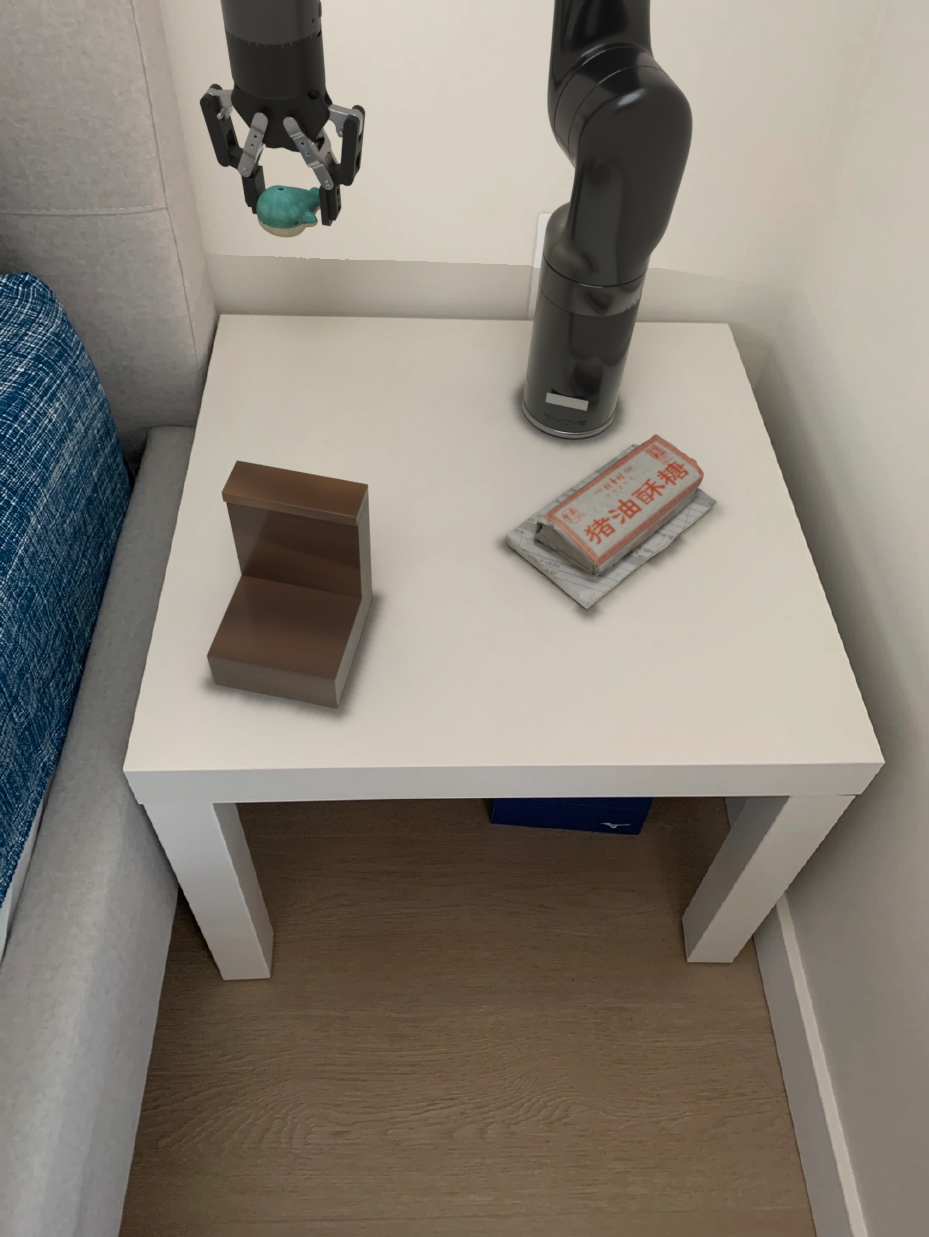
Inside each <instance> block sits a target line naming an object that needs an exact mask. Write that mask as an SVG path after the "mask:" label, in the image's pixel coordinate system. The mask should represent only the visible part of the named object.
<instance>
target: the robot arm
mask: <svg viewBox="0 0 929 1237" xmlns="http://www.w3.org/2000/svg"><path fill="white" fill-rule="evenodd" d="M219 1H220V7H221V14H222V21H223V25H224V26H223V28H224V34H225V40H226V47H227V54H228V62H229V66H230V74H231V78H232V80H233V88H232V89H223V87H222V86H221V85H220V84H218V83H212V84H211V85H210V86H209V87H208V89H207V90H206V91H205V93H204V94H203V95H202V97H201V98H200V99H199V107H200V109H201V112H202V115H203V119H204V122H205V125H206V128H207V133H208V135H209V138H210V142H211V145H212V147H213V152H214V155H215V158H216V160H217V163H218V164H219V165H220V166H221V167H223V168H229V167H231V168H233V169H235V170H236V171H237V172H238V173H239V175H240V177H241V184H242V190H243V197H244V202H245V204H246V206H247V207H248V208H251V213H252V215H257V202H258V199H259V197H260V195H261V194H262V193H263V192H264V191H265V190H266V189H267V188H266V181H265V174H264V167H263V166H264V165H261V164H259V162H260V161H261V157H262V155H263V152H264V149H265V148H267V149H272V150H276V149H285V150H287V151H289V152H293V153H299V154H300V155H301V157H302V159H303V161H304V162H305V165H306V167H308V168H310V169H312V171H313V173H314V176H315V177H316V179H317V180H318V182H319V184H320V186H319V187H318V188H319V199H320V209H319V210H320V217H321V218H320V219H321V225H322V226H324V227H325V226H326V227H331V226H332V224H333V222H336V220H337V219H338V217H339V215H340V213H341V211H342V198H341V197H342V196H341V194H342V193H341V186H342V185H343V186H344V187H350V186H352V185H353V183H354V181H355V178H356V176H357V174H358V173H359V171H360V169H361V167H362V166H361V164H362V154H363V144H364V143H363V142H364V134H365V133H364V131H365V121H366V110H365V108H364V107H363V106H362V105H360V104H355V105H353V106H351V108H348V107H346V106H341V105H337V104H334V102H333V99H332V98H331V96H330V94H329V93H328V90H327V86H326V84H327V83H326V66H325V65H326V64H325V52H324V50H325V49H324V39H323V38H324V37H323V26H322V16H323V7H322V1H321V0H219ZM552 15H553V16H552V27H551V28H552V29H551V40H550V41H551V42H550V53H549V62H548V63H549V64H548V75H547V76H548V77H547V91H546V92H547V93H546V94H547V95H546V108H547V117H548V123H549V126H550V129H551V132H552V137H553V138H554V140H555V141H556V143H557V145H558V147H559V148H560V150H561V151H562V152H563V154H564V155H565V157H566V158H567V160H568V161H569V163H570V164H571V166H572V167H573V168H574V173H573V174H574V175H573V183H572V189H571V194H570V199H569V201H567V202H566V203H563V204H561V205H560V206H558V207H557V208H556V209H555V210H554V211H553V212H552V213H551V214H550V216H549V217H548V220H547V222H546V226H545V229H544V237H543V245H542V252H541V260H540V269H539V276H538V284H537V292H536V299H535V300H536V301H535V306H534V307H535V308H534V314H533V321H532V329H531V337H530V344H529V353H528V358H527V366H526V367H527V368H526V374H525V381H524V388H523V391H522V396H521V408H522V411H523V413H524V415H525V417H526V419H527V420H528V421H529V422H530V423H531V424H532V425H533V426H534V427H536V428H537V429H539V430H540V431H542V432H544V433H547V434H548V435H552V436H555V437H558V438H564V439H585V438H589V437H592V436H593V437H594V436H595V435H597V434H600V433H602V432H603V431H604V430H606V429H607V428H608V427H609V426H610V425H611V424H612V423H613V420H614V418H615V414H616V410H617V402H618V397H619V393H620V389H621V385H622V380H623V378H624V372H625V369H626V365H627V360H628V356H629V351H630V348H631V342H632V340H633V339H632V338H633V334H634V330H635V325H636V321H637V318H638V312H639V308H640V304H641V300H642V296H643V290H644V286H645V282H646V277H647V274H648V268H649V265H650V261H651V258H652V253H653V252H654V251H655V249H656V248H657V247H658V246H659V244H660V243H661V241H662V240H663V238H664V236H665V233H666V231H667V229H668V226H669V224H670V221H671V218H672V214H673V210H674V207H675V204H676V200H677V197H678V194H679V190H680V187H681V184H682V180H683V177H684V174H685V170H686V166H687V164H688V163H687V162H688V159H689V156H690V150H691V146H692V139H693V129H694V125H693V124H694V122H693V121H694V118H693V112H692V108H691V105H690V102H689V100H688V98H687V97H686V95H685V93H684V92H683V90H681V89H682V88H680V87H679V86H678V85H677V83H676V82H675V81H674V79H672V77H671V76H670V75H669V74H668V73H667V72H666V70H664V68H662V66H661V65H660V64H659V62H658V61H657V60H656V59H655V56H654V52H653V47H652V37H651V36H652V34H651V0H554V1H553V14H552ZM234 110H235V111H236V113H237V114H238V116H239V117H240V118H241V119H242V121H243V122H244V124H246V126H247V127H248V128H249V131H248V134H247V137H246V139H245V142H244V145H243V147H241V146H240V144H239V140H238V137H237V134H236V130H235V126H234V124H233V119H232V116H231V115H232V113H233V111H234ZM329 121H330V122H331V123H333V124H334V127H335V132H336V134H337V136H338V137H339V138H340V139H341V153H340V163H339V161H338V160H337V157H336V155H335V154H334V152H333V149H332V142H331V140H330V138H329V135H328V133H327V132H326V130H325V128H324V127H325V126H326V125H327V123H328V122H329Z"/></svg>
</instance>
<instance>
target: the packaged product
mask: <svg viewBox="0 0 929 1237" xmlns="http://www.w3.org/2000/svg"><path fill="white" fill-rule="evenodd" d="M704 476H705V473H704V471H703V469H702V468H701V467H700V466H699V464H698V462H697V460H696V459H695V458H694V457H690V456H689V455H687V453H685V452H683V451H681V450H680V449H679V448H678V447H677V446H675V445H674V444H673V443H671V442H669V440H666V439H665V438H663V437H662V436H660V435H659V434H657V433H655V434H653V435H652V436H651V437H650V438H649V439H647V440H646V441H644V442H641V443H640V444H638V443H637V444H636V443H632V444H631V445H629V447H628V448H627V449H624V451H622V452H621V453H620V454H618V455H616V456H615V457H614V458H612V459H611V460H609V461H608V462H606V463H605V464H604V465H602V466H601V467H600V468H598V469H597V470H595V471H594V472H592V473H591V474H589V475H588V476H587V477H586V478H584V479H582V480H581V481H580V482H578V483H577V484H576V485H575V486H573V487H571V488H570V489H568V490H567V491H566V492H564V493H563V494H561V495H560V496H558V497H557V498H556V499H554V500H553V501H552V502H551V503H549V504H548V505H546V506H544V507H543V508H541V509H540V510H539V511H537V512H536V513H534V514H533V515H531V516H530V517H528V518H527V519H526V520H525V521H523V522H521V523H520V524H519V525H518V526H517V527H515V528H513V529H512V530H510V531H508V532H507V534H506V541H507V545H508V546H509V547H510V548H511V549H512V550H514V551H515V552H516V553H518V554H519V555H520V556H521V557H523V558H524V559H525V560H526V561H527V562H529V563H530V564H531V565H533V567H535V568H536V569H537V570H538V571H539V572H541V573H542V574H544V576H546V577H547V578H548V579H549V580H551V581H552V582H553V583H554V584H555V585H557V586H558V587H559V588H560V589H562V590H563V591H564V592H566V594H568V595H569V596H570V597H571V598H572V599H574V601H576V602H577V603H578V604H579V605H581V606H582V607H583V608H585V609H586V610H588V609H589V608H591V607H592V606H593V605H594V604H595V603H597V602H599V600H600V599H601V598H603V597H604V596H605V595H606V594H607V593H609V592H610V591H611V590H612V589H614V588H615V587H616V586H618V585H619V584H620V583H621V582H622V581H623V580H624V579H625V578H626V577H627V576H629V575H630V574H631V573H633V572H634V571H635V570H636V569H638V568H639V567H641V566H642V565H643V564H645V563H646V562H648V560H650V559H652V558H653V557H655V556H656V555H658V554H659V553H661V552H662V551H664V550H665V549H667V548H668V547H669V546H670V545H671V544H672V542H673V541H674V540H675V539H676V538H677V537H678V536H679V535H681V533H682V532H684V531H686V529H688V528H690V526H692V525H693V524H695V523H696V522H697V521H698V520H699V519H700V518H702V516H704V515H705V514H706V513H707V512H708V511H709V510H711V509H712V508H713V507H715V505H716V504H717V503H718V502H717V501H718V500H716V499H714V498H713V497H711V496H710V495H709V494H707V493H706V492H705V491H703V490H702V489H701V488H699V487H700V485H701V483H702V482H703V479H704V478H705V477H704Z"/></svg>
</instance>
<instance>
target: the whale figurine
mask: <svg viewBox="0 0 929 1237" xmlns="http://www.w3.org/2000/svg"><path fill="white" fill-rule="evenodd" d="M319 210H320V199H319V187H316V186H313V187H311V188H310V189H305V188H301V187H296V186H287V185H281V184H277V185H276V184H275V185H272V186H269V187H267V188H266V190H265V191H264V192H263V193H262V194H261V195H260V197H259V199H258V202H257V214H256V217H257V221H258V224H259V225H260V227H261V228H262V230H264V231H265V232H267V233H269V234H270V235H271V236H275V237H279V238H294V237H298V236H299V235H301V234H302V233H303V232H304V231H305V229H306V228H314V227H316V226H317V225H318V223H319V220H318V217H317V216H316V215H317V213H318V212H319Z"/></svg>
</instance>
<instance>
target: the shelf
mask: <svg viewBox="0 0 929 1237" xmlns="http://www.w3.org/2000/svg"><path fill="white" fill-rule="evenodd" d="M369 494H370V493H369V484H368V483H363V482H358V481H353V480H352V481H351V480H347V479H341V478H336V477H331V476H325V475H320V474H313V473H309V472H304V471H299V470H294V469H293V470H291V469H288V468H282V467H275V466H270V465H266V464H259V463H254V462H248V461H242V460H235V463H234V466H233V468H232V469H231V471H230V473H229V476H228V478H227V480H226V482H225V484H224V486H223V488H222V490H221V497H222V501H223V502H224V503H225V504H226V508H227V514H228V518H229V523H230V529H231V532H232V533H231V534H232V537H233V541H234V542H233V543H234V547H235V550H236V557H237V561H238V566H239V570H240V577H239V579H238V582H237V584H236V587H235V588H234V591H233V594H232V596H231V598H230V600H229V603H228V605H227V608H226V610H225V612H224V614H223V617H222V618H221V622H220V624H219V626H218V628H217V630H216V633H215V634H214V635H215V636H214V637H213V640H212V642H211V645H210V646H209V649H208V651H207V654H206V658H207V662H208V665H209V669H210V673H211V676H212V680H213V683H214V684H215V685H219V686H224V687H229V688H234V689H239V690H245V691H249V692H254V693H258V694H264V695H269V696H273V697H279V698H284V699H288V700H289V699H290V700H293V701H298V702H304V703H309V704H314V705H318V706H324V707H329V708H334V709H338V708H339V705H340V702H341V698H342V695H343V693H344V690H345V686H346V683H347V680H348V677H349V674H350V671H351V667H352V665H353V661H354V658H355V655H356V652H357V649H358V646H359V643H360V640H361V635H362V633H363V630H364V627H365V624H366V621H367V618H368V615H369V612H370V608H371V606H372V602H373V580H372V579H373V578H372V577H373V576H372V575H373V574H372V549H371V547H372V546H371V520H370V500H369V499H370V497H369Z"/></svg>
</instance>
